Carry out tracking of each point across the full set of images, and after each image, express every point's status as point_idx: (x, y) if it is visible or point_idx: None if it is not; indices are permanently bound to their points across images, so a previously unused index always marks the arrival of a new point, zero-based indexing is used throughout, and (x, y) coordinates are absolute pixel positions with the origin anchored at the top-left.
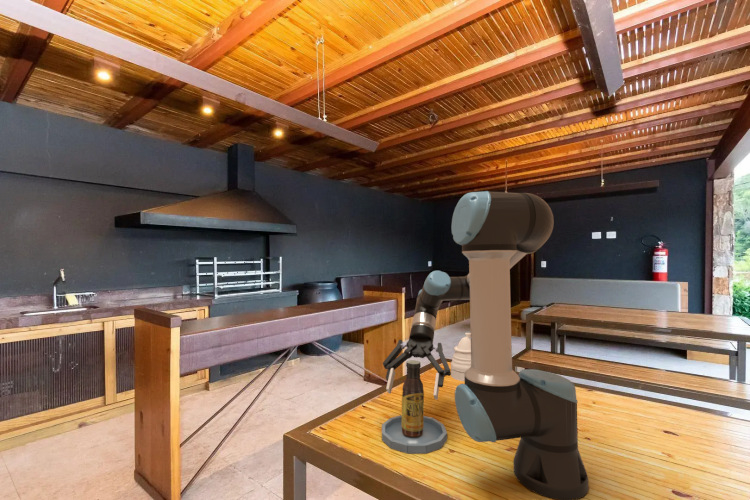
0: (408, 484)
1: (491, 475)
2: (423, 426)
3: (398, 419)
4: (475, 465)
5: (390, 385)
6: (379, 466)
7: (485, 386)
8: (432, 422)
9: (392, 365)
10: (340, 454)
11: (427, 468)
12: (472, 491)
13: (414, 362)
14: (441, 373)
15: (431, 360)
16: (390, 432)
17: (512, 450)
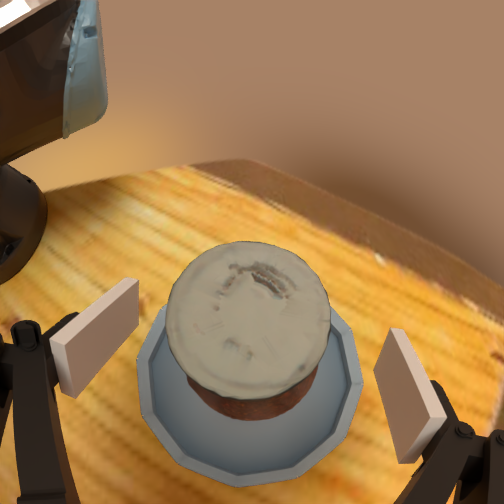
0: (249, 176)
1: (82, 223)
2: (216, 427)
3: (312, 449)
4: (99, 251)
5: (391, 360)
6: (320, 220)
7: None
8: (182, 448)
9: (446, 438)
10: (417, 252)
11: (208, 226)
12: (132, 177)
13: (234, 293)
14: (37, 340)
15: (50, 439)
16: (327, 368)
17: (10, 317)
